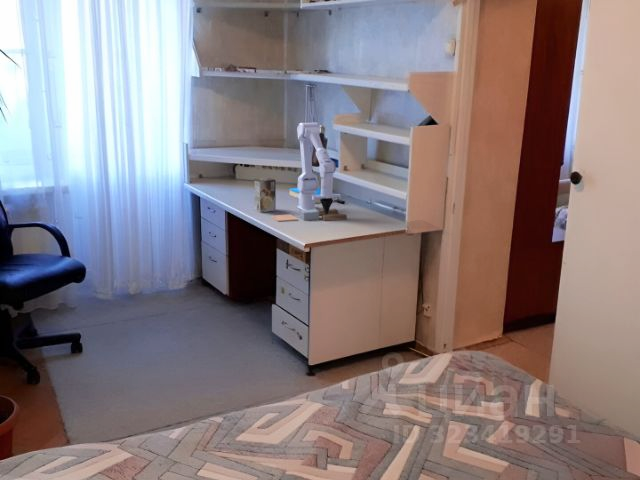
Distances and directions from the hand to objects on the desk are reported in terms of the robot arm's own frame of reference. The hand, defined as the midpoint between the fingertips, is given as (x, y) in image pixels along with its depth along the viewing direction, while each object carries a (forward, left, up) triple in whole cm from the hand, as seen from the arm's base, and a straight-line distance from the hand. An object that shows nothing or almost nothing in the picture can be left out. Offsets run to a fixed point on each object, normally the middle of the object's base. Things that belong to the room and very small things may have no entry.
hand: (326, 213), depth 328 cm
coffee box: (-21, -25, -2) cm, 33 cm away
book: (-43, +10, -2) cm, 45 cm away
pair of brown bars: (0, +2, -2) cm, 3 cm away
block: (+1, -9, -2) cm, 9 cm away
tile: (-2, -21, -2) cm, 21 cm away
